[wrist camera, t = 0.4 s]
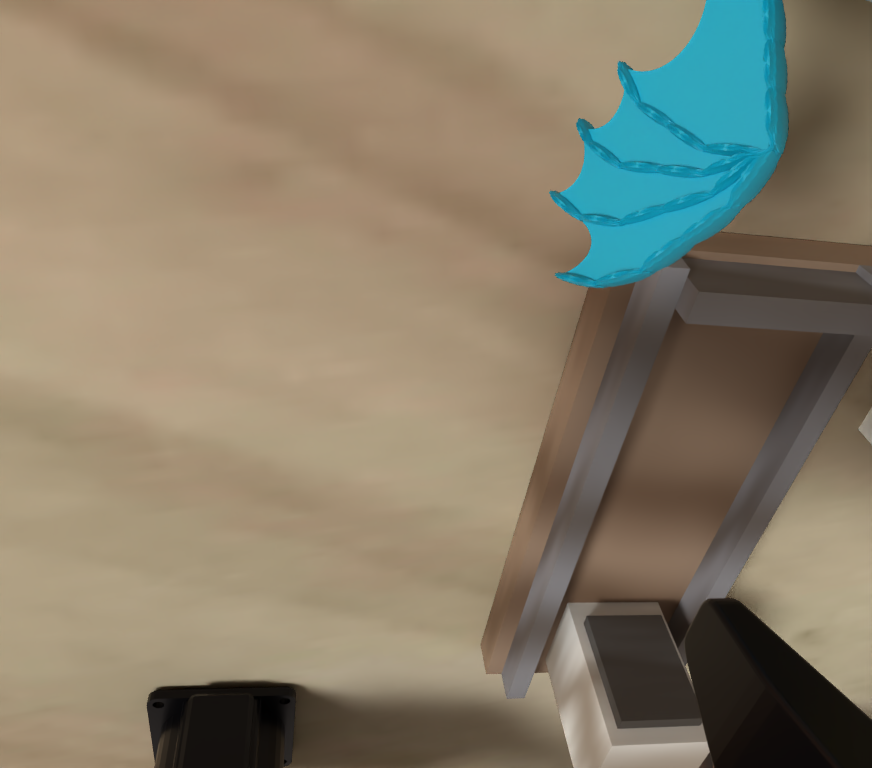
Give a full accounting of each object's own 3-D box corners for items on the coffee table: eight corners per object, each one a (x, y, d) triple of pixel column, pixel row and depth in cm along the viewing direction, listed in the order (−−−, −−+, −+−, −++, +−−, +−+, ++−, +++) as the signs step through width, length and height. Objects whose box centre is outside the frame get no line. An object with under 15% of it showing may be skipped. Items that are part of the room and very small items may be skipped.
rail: (661, 641, 36) (728, 803, 30) (480, 644, 34) (513, 816, 28) (874, 246, 24) (1057, 388, 18) (608, 221, 22) (712, 368, 16)
